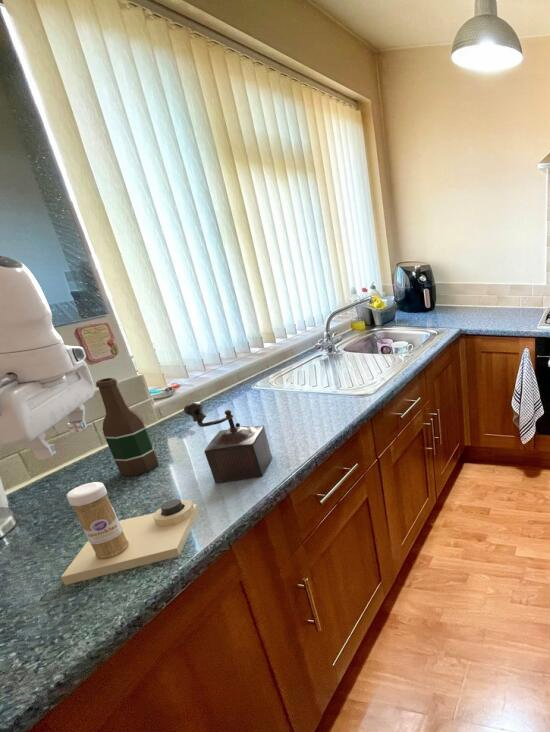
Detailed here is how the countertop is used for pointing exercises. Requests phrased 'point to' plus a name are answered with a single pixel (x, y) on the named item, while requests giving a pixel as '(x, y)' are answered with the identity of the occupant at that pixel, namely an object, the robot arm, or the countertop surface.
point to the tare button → (171, 507)
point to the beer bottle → (125, 432)
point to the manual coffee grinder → (234, 448)
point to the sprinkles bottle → (98, 519)
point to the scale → (138, 544)
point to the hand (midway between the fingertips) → (64, 443)
